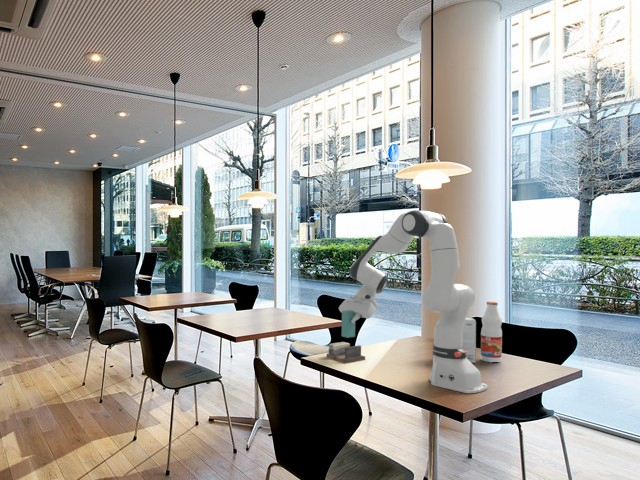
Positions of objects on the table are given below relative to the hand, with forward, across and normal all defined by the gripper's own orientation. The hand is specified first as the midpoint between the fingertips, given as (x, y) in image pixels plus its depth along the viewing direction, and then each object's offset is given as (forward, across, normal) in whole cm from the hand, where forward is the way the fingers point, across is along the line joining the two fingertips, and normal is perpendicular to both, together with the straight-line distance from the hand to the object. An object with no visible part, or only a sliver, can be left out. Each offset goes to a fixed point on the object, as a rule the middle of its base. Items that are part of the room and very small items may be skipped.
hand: (347, 321), depth 216 cm
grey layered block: (+12, -1, +13) cm, 18 cm away
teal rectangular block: (+5, 0, +6) cm, 7 cm away
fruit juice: (-27, +40, +53) cm, 72 cm away
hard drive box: (-17, +31, +43) cm, 56 cm away
